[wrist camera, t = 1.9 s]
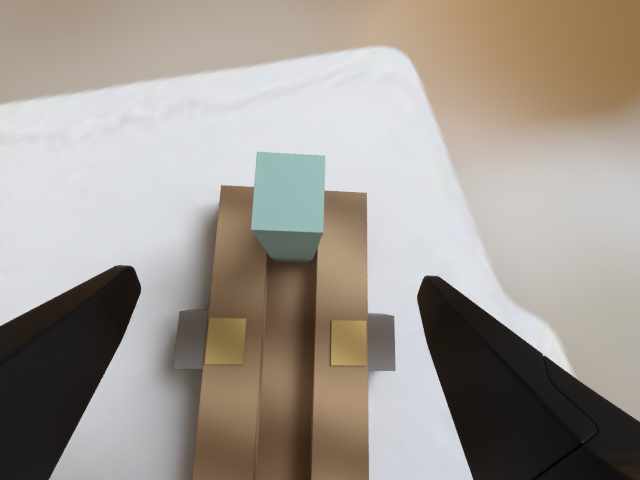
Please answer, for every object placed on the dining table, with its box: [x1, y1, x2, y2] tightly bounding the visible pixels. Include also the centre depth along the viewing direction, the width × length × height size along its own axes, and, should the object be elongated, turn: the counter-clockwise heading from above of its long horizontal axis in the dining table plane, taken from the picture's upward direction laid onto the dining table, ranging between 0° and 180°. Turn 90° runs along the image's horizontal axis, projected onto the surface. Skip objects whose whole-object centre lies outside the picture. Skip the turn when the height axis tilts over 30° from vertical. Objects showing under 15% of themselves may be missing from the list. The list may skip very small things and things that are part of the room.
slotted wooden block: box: [173, 185, 395, 480], centre depth 17 cm, size 18×12×3 cm
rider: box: [251, 152, 325, 263], centre depth 14 cm, size 3×2×9 cm
